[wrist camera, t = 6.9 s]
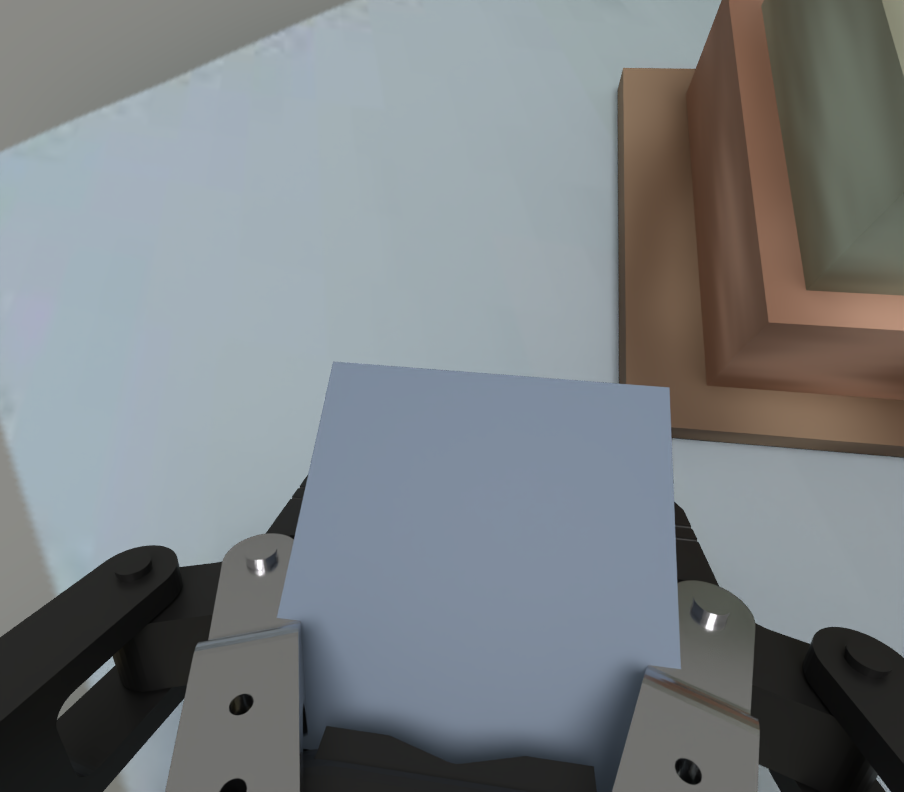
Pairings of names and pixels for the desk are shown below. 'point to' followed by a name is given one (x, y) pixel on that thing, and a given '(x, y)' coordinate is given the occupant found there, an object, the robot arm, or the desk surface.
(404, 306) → the desk surface
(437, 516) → the slate brick
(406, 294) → the desk surface
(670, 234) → the stepped tiered pedestal
